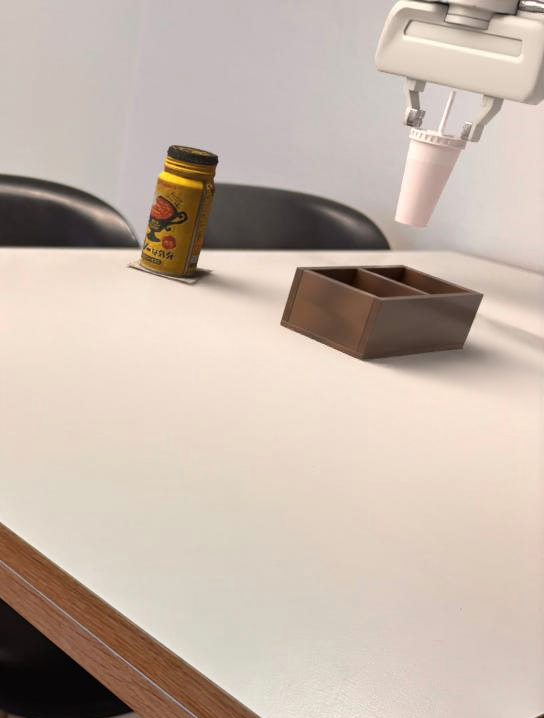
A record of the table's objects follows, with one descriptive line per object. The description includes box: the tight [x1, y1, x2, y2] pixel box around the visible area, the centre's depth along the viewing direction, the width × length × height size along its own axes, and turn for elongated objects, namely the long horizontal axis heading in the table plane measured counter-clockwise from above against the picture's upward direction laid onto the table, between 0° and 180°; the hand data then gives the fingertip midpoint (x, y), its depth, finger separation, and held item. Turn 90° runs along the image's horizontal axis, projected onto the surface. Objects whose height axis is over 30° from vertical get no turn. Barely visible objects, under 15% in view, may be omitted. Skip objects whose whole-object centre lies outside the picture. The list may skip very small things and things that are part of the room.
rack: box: [279, 264, 485, 361], centre depth 105 cm, size 10×19×6 cm, turn 132°
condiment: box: [126, 144, 219, 284], centre depth 111 cm, size 7×8×12 cm
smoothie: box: [394, 90, 468, 228], centre depth 121 cm, size 6×6×14 cm
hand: (439, 133), depth 120 cm, fingers closed on smoothie, 6 cm apart
